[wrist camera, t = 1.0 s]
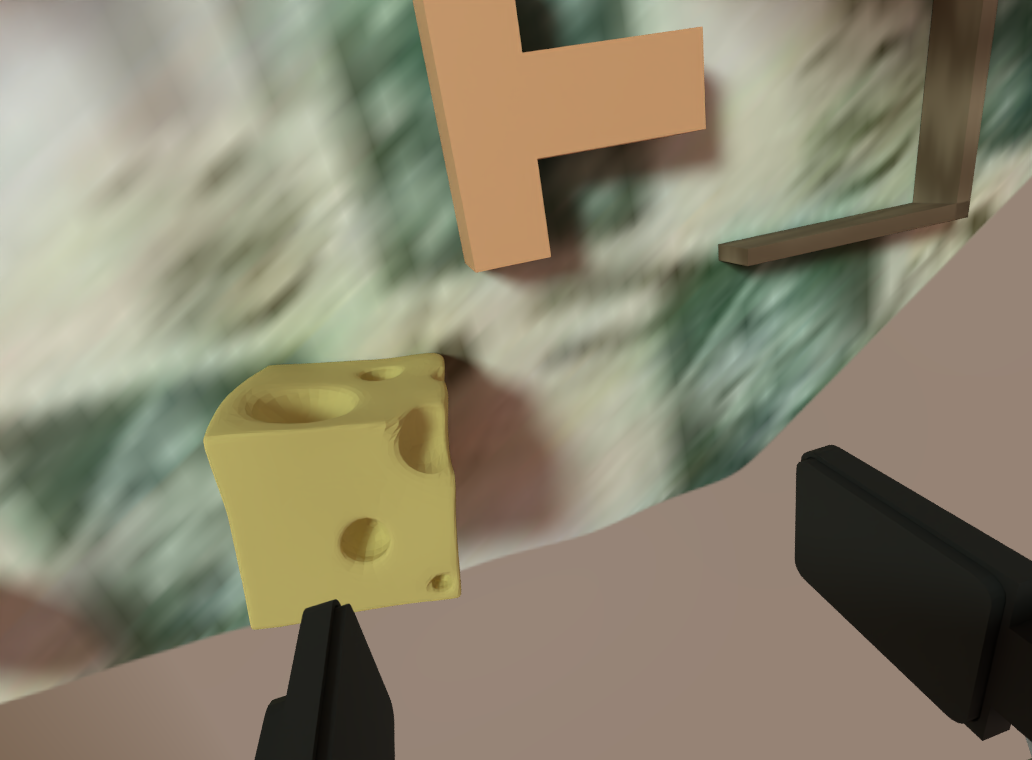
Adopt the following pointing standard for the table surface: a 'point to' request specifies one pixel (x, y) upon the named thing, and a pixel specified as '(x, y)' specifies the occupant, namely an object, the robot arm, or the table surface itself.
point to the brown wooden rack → (942, 144)
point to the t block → (541, 113)
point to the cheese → (338, 485)
